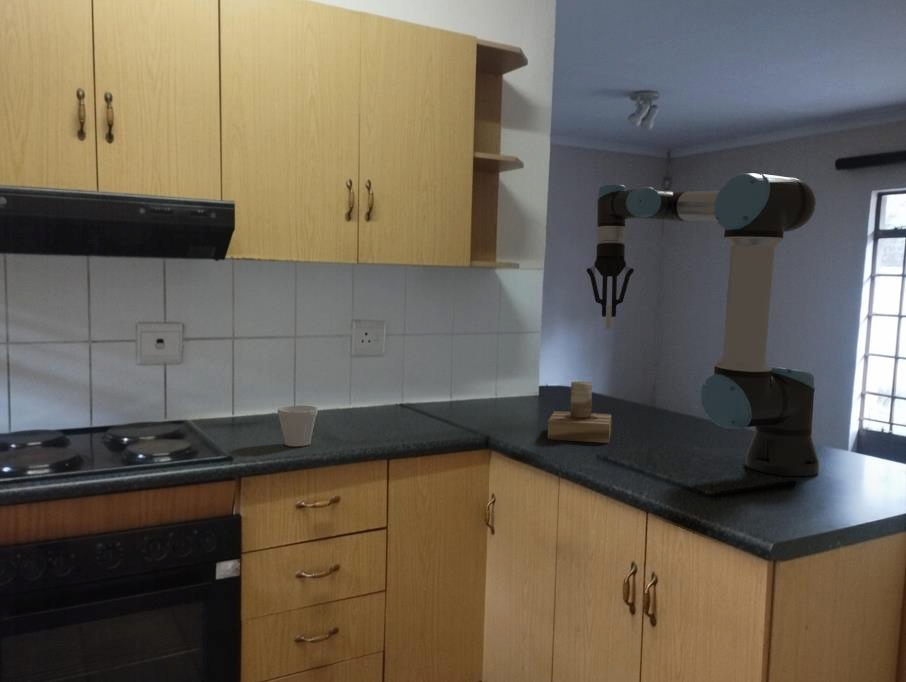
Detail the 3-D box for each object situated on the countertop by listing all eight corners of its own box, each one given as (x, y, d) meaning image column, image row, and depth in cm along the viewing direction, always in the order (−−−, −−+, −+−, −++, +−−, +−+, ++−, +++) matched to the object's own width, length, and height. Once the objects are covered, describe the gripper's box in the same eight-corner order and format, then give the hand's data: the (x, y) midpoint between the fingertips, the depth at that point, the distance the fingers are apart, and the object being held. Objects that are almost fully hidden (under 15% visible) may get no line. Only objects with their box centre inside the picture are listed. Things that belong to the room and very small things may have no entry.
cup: (324, 442, 184) (324, 406, 183) (306, 450, 174) (306, 413, 173) (289, 439, 186) (289, 404, 186) (270, 447, 177) (269, 410, 176)
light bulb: (590, 436, 192) (591, 384, 191) (568, 434, 194) (570, 383, 192) (591, 432, 198) (592, 382, 196) (570, 430, 199) (572, 381, 198)
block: (608, 443, 186) (609, 424, 186) (547, 439, 190) (548, 420, 190) (610, 431, 201) (611, 414, 200) (554, 428, 205) (554, 411, 204)
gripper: (635, 243, 197) (632, 328, 199) (587, 243, 200) (585, 327, 202) (635, 241, 190) (632, 330, 191) (585, 242, 193) (583, 329, 194)
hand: (608, 328), depth 197 cm, fingers closed
